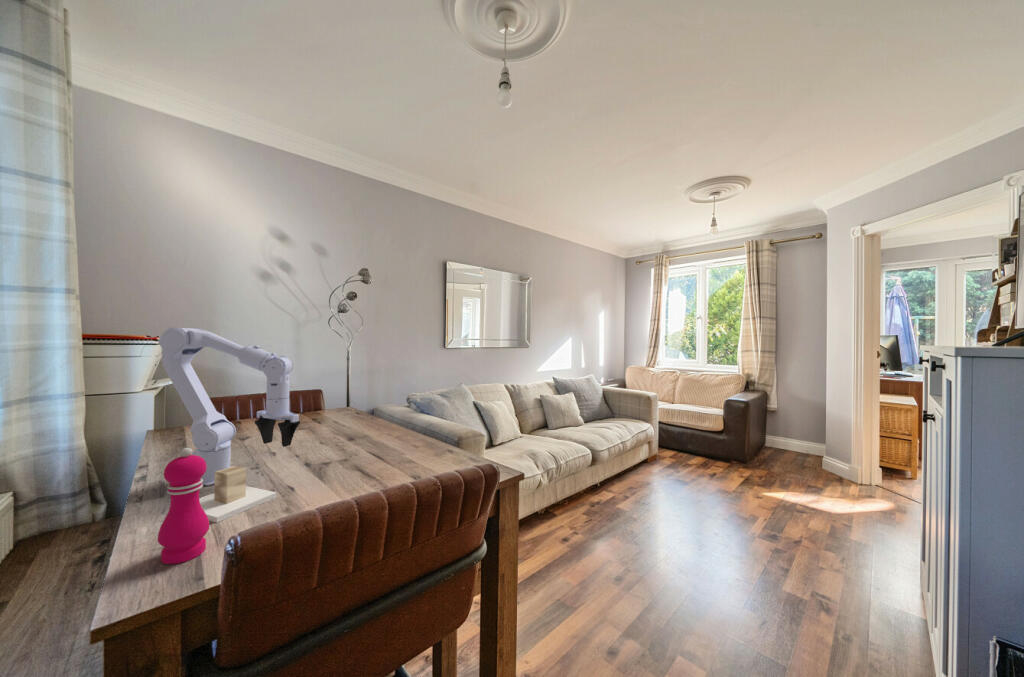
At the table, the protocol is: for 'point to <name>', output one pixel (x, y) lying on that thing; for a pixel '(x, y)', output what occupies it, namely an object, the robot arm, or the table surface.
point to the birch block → (230, 484)
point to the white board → (234, 504)
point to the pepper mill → (184, 510)
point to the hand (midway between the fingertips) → (277, 444)
